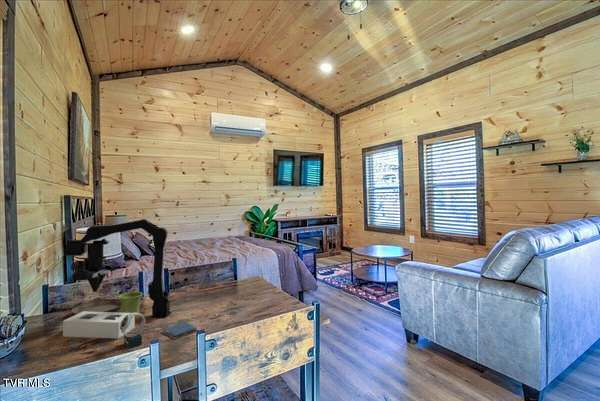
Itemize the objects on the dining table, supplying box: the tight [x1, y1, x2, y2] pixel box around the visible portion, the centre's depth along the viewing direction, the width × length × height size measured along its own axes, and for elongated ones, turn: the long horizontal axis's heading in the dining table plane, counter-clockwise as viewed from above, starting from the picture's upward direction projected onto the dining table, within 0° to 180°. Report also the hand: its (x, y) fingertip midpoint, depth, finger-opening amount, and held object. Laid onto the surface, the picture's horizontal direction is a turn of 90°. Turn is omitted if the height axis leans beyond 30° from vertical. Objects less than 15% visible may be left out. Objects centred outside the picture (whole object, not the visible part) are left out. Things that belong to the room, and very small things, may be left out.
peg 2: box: [105, 315, 119, 320], centre depth 121 cm, size 5×5×6 cm
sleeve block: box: [62, 311, 136, 340], centre depth 121 cm, size 22×10×6 cm, turn 87°
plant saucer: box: [71, 298, 122, 316], centre depth 143 cm, size 21×21×3 cm
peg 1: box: [81, 314, 95, 319], centre depth 122 cm, size 5×5×6 cm
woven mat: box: [161, 321, 199, 340], centre depth 122 cm, size 10×11×2 cm
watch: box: [120, 312, 146, 350], centre depth 111 cm, size 6×8×11 cm
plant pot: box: [118, 291, 143, 313], centre depth 141 cm, size 9×9×9 cm
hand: (95, 291), depth 131 cm, fingers closed
